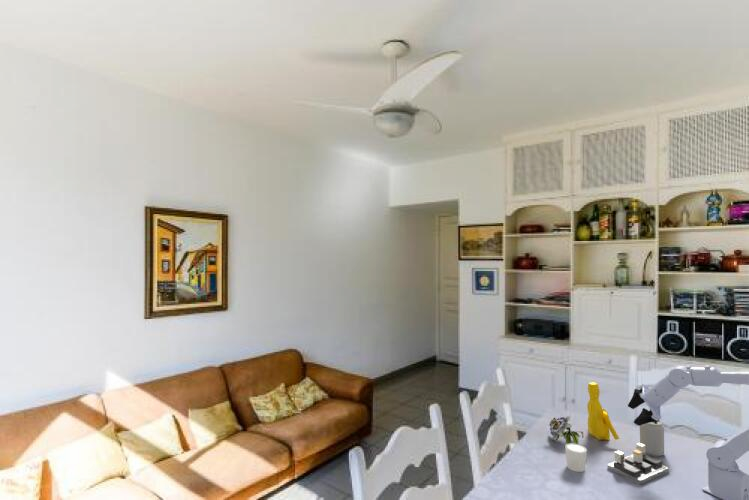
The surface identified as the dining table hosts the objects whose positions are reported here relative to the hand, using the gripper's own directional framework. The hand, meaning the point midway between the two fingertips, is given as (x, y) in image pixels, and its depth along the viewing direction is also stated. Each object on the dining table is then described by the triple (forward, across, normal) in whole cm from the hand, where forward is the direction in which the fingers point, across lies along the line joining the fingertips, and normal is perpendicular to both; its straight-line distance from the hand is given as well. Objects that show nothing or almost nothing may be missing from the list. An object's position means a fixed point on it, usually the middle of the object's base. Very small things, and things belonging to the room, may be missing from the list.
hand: (633, 415), depth 145 cm
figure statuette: (+23, -9, +5) cm, 25 cm away
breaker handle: (+8, +11, +5) cm, 15 cm away
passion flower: (+28, -2, -8) cm, 29 cm away
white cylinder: (+20, +16, -11) cm, 28 cm away
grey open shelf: (+11, +13, +6) cm, 18 cm away
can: (+12, -1, +17) cm, 21 cm away
